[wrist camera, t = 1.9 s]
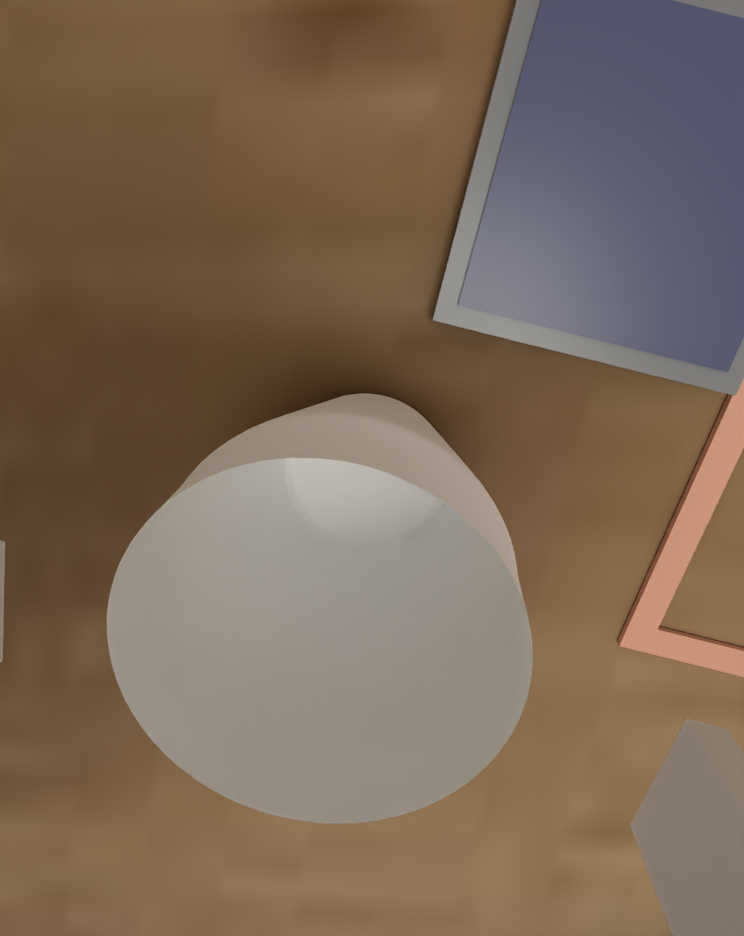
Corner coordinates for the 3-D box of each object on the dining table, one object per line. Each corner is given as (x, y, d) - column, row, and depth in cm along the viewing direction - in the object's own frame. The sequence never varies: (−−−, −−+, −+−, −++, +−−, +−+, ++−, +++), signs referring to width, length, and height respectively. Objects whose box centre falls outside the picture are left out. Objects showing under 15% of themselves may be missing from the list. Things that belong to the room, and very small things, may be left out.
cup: (278, 335, 21) (117, 393, 10) (507, 393, 21) (612, 517, 10) (240, 543, 24) (83, 774, 13) (443, 594, 24) (467, 870, 13)
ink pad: (431, 318, 21) (432, 320, 19) (526, -43, 17) (534, -66, 16) (721, 390, 21) (738, 396, 19) (874, 44, 17) (907, 27, 16)
